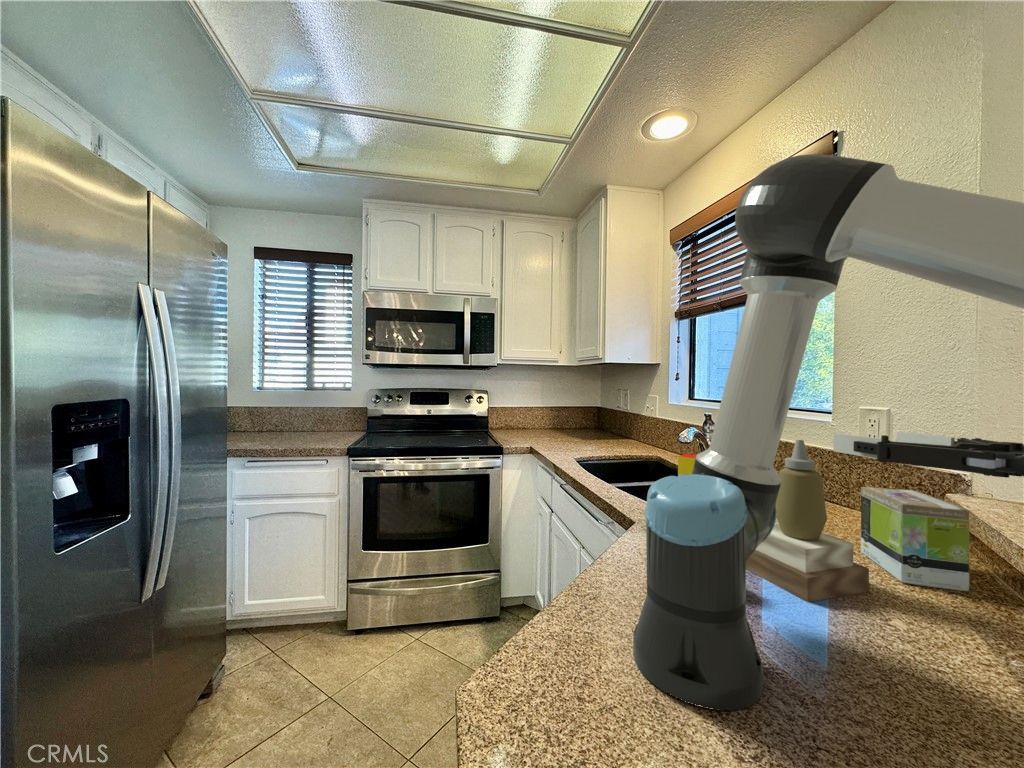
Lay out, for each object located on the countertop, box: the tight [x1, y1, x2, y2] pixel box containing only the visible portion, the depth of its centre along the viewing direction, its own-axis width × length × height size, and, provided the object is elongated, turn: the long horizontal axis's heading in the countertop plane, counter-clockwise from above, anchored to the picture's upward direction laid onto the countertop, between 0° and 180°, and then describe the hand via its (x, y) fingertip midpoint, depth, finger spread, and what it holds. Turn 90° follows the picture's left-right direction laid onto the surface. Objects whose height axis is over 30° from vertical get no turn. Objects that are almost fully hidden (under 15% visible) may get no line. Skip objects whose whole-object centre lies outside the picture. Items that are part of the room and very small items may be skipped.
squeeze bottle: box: [775, 439, 828, 540], centre depth 75 cm, size 8×8×18 cm
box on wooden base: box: [746, 524, 870, 603], centre depth 75 cm, size 14×14×8 cm
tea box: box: [860, 486, 970, 592], centre depth 78 cm, size 15×10×15 cm
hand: (867, 441), depth 62 cm, fingers open, 13 cm apart
